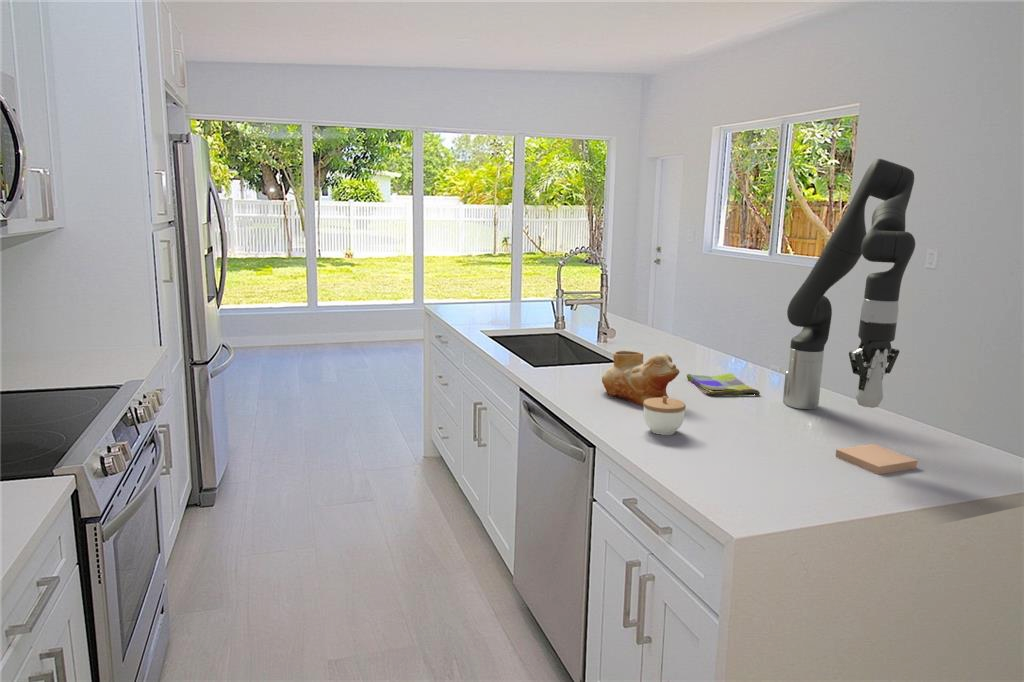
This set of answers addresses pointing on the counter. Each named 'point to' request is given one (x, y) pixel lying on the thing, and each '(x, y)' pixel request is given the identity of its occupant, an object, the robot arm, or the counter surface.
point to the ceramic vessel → (639, 376)
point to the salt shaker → (872, 386)
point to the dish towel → (721, 385)
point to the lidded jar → (663, 414)
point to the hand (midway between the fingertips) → (869, 391)
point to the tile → (876, 458)
